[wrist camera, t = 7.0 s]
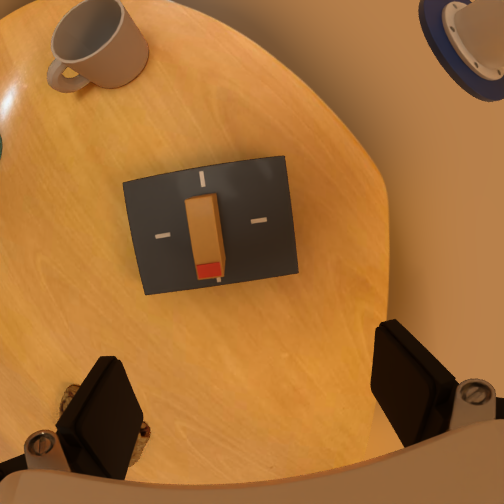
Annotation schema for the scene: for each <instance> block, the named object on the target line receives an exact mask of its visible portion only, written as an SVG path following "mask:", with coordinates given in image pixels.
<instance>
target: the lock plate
mask: <svg viewBox="0 0 504 504" xmlns="http://www.w3.org/2000/svg"><path fill="white" fill-rule="evenodd" d="M123 190H124V196H125V203H126V208H127V214H128V220H129V225H130V230H131V235H132V240H133V245H134V250H135V255H136V259H137V264H138V268H139V272H140V276H141V281H142V285H143V289H144V293H145V295H152V294H160V293H167V292H175V291H182V290H190V289H197V288H204V287H211V286H218V285H225V284H232V283H239V282H245V281H252V280H259V279H265V278H271V277H278V276H284V275H290V274H297V273H299V271H298V261H297V251H296V242H295V233H294V224H293V216H292V207H291V199H290V191H289V184H288V176H287V169H286V161H285V156H274V157H266V158H258V159H250V160H243V161H236V162H229V163H222V164H216V165H210V166H204V167H198V168H192V169H186V170H181V171H176V172H170V173H165V174H160V175H155V176H151V177H146V178H141V179H137V180H132V181H128V182H123ZM212 193H216V195H217V202H218V209H219V216H220V223H221V230H222V237H223V243H224V250H225V257H226V260H225V271H224V277H218V278H211V279H203V280H198V279H197V273H196V268H195V262H194V256H193V251H192V245H191V239H190V233H189V227H188V220H187V214H186V207H185V199H188V198H191V197H194V196H199V195H206V194H212Z"/></svg>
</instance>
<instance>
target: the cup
mask: <svg viewBox="0 0 504 504" xmlns="http://www.w3.org/2000/svg"><path fill="white" fill-rule="evenodd" d="M51 50H52V53H53V56H54V57H55V60H54V61H53V62H52V63H51V65H50V66H49V68H48V72H47V81H48V84H49V85H50V86H51V87H52V88H53V89H55V90H57V91H59V92H63V93H71V92H75V91H77V90H80V89H81V88H83V87H84V86H86V85H87V84H88V83H89V82H93V83H94V84H96V85H98V86H100V87H102V88H116V87H120V86H122V85H125V84H127V83H128V82H130V81H131V80H133V79H134V78H135V77H136V76H137V75H138V74H139V73H140V72H141V71H142V69H143V68H144V66H145V64H146V62H147V59H148V53H149V50H148V44H147V42H146V40H145V39H144V37H143V35H142V34H141V32H140V31H139V29H138V28H137V26H136V24H135V23H134V21H133V20H132V18H131V17H130V15H129V14H128V12H127V10H126V9H125V7H124V6H123V4H122V3H121V1H120V0H85V1H82V2H80V3H79V4H77V5H76V6H75V7H73V8H72V9H71V10H70V11H69V12H67V13H66V14H65V15H64V16H63V18H62V19H61V20H60V22H59V23H58V25H57V26H56V28H55V30H54V33H53V36H52V40H51ZM67 67H70V68H71V69H73V70H74V71H75V72H77V73H79V75H77V76H76V77H74V78H65V77H64V76H63V75H62V73H63V71H64V70H65V69H66V68H67Z"/></svg>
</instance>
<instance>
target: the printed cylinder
mask: <svg viewBox="0 0 504 504" xmlns="http://www.w3.org/2000/svg"><path fill="white" fill-rule="evenodd" d="M1 154H2V139H1V136H0V158H1Z"/></svg>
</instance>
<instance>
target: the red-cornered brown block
mask: <svg viewBox="0 0 504 504" xmlns="http://www.w3.org/2000/svg"><path fill="white" fill-rule="evenodd" d="M185 207H186V214H187V220H188V227H189V233H190V239H191V245H192V251H193V256H194V262H195V268H196V273H197V279H198V280H203V279H211V278H218V277H224V271H225V260H226V257H225V250H224V243H223V237H222V230H221V223H220V216H219V209H218V202H217V195H216V193H212V194H206V195H199V196H194V197H191V198H188V199H185Z"/></svg>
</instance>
